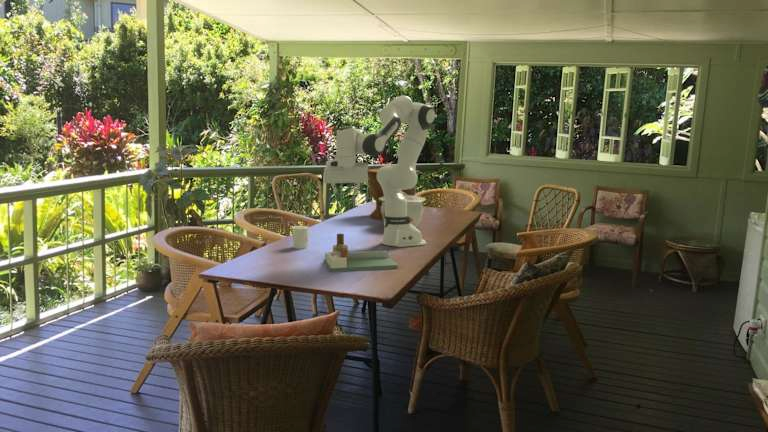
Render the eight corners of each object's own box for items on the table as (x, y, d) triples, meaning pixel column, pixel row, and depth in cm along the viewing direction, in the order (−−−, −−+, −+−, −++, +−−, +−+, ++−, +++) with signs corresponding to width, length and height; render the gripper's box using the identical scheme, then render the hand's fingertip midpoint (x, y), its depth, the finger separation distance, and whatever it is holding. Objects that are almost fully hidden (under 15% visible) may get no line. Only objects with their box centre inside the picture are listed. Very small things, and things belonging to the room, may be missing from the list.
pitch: (387, 259, 283) (387, 247, 282) (397, 268, 266) (397, 255, 265) (323, 262, 275) (323, 250, 274) (330, 271, 259) (330, 258, 258)
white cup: (297, 249, 300) (297, 229, 298) (289, 247, 306) (289, 226, 304) (311, 247, 305) (311, 227, 303) (303, 245, 311) (303, 225, 309)
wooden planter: (376, 211, 421) (377, 167, 416) (426, 214, 408) (427, 169, 403) (355, 218, 389) (356, 171, 384) (409, 223, 377) (410, 174, 372)
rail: (387, 257, 281) (387, 250, 280) (388, 257, 279) (388, 251, 279) (325, 259, 274) (325, 253, 273) (325, 260, 272) (325, 253, 272)
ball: (336, 265, 268) (341, 257, 268) (338, 267, 264) (343, 259, 264) (328, 260, 266) (334, 252, 267) (330, 262, 263) (335, 254, 263)
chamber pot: (426, 231, 349) (427, 195, 346) (377, 231, 350) (377, 194, 346) (424, 223, 377) (425, 189, 374) (378, 222, 377) (379, 188, 374)
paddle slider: (346, 257, 277) (346, 233, 275) (352, 264, 265) (352, 238, 263) (332, 257, 275) (332, 233, 274) (338, 264, 263) (338, 239, 261)
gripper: (366, 161, 287) (366, 191, 290) (322, 161, 282) (322, 192, 285) (370, 162, 281) (369, 193, 284) (324, 163, 276) (324, 194, 279)
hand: (345, 192), depth 284 cm, fingers open, 8 cm apart
